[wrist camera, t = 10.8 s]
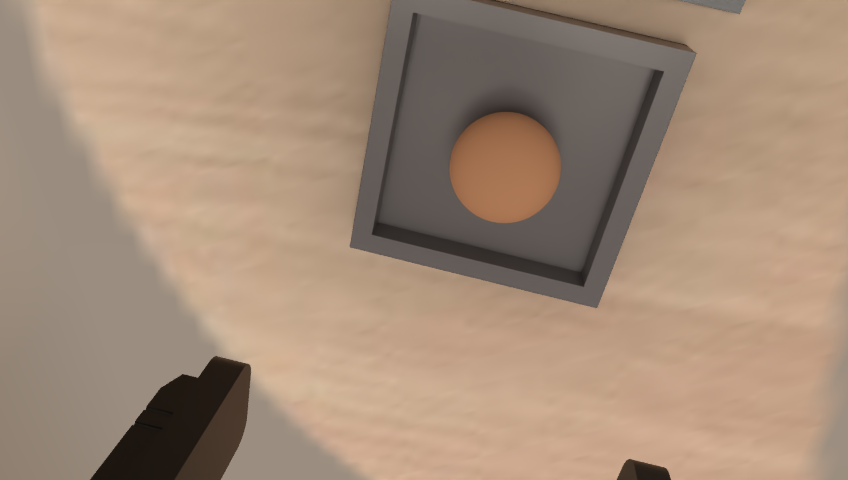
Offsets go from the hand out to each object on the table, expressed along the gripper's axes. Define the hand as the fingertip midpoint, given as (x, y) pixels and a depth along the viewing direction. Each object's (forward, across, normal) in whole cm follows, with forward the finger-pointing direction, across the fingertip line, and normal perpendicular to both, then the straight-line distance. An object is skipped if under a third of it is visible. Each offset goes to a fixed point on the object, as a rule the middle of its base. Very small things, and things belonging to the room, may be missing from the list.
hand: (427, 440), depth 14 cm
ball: (+18, -1, 0) cm, 18 cm away
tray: (+21, -1, 0) cm, 21 cm away
